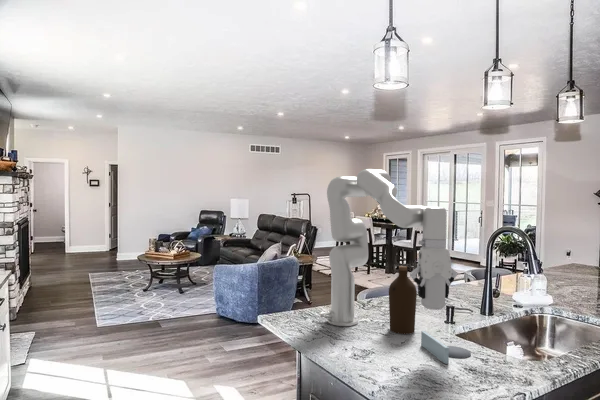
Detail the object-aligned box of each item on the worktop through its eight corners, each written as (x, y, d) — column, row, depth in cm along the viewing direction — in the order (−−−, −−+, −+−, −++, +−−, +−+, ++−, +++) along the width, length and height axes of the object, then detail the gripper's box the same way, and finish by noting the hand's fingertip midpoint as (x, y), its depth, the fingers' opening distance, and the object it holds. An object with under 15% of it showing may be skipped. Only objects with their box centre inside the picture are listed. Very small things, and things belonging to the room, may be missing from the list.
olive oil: (413, 336, 156) (414, 269, 156) (385, 332, 160) (386, 267, 160) (418, 328, 166) (419, 265, 165) (391, 324, 170) (392, 263, 170)
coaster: (448, 359, 135) (448, 357, 135) (433, 347, 145) (433, 346, 145) (477, 357, 137) (477, 356, 137) (460, 346, 147) (460, 345, 147)
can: (440, 304, 143) (441, 269, 143) (448, 310, 135) (449, 273, 135) (418, 304, 143) (419, 269, 143) (425, 310, 135) (425, 273, 135)
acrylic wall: (444, 363, 132) (445, 347, 131) (421, 345, 147) (421, 331, 147) (448, 363, 132) (448, 347, 132) (424, 345, 147) (424, 330, 147)
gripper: (414, 245, 134) (413, 301, 134) (464, 245, 136) (463, 299, 137) (404, 243, 141) (403, 295, 141) (452, 242, 144) (452, 294, 144)
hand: (433, 297), depth 139 cm, fingers closed on can, 7 cm apart
